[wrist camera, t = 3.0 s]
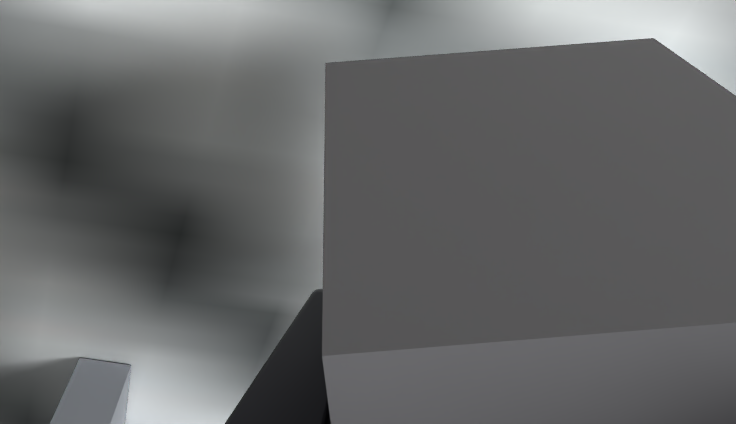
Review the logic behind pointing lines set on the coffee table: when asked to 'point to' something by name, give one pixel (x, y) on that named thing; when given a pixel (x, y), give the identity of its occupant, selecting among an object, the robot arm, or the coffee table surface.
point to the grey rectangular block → (529, 238)
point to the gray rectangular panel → (95, 394)
